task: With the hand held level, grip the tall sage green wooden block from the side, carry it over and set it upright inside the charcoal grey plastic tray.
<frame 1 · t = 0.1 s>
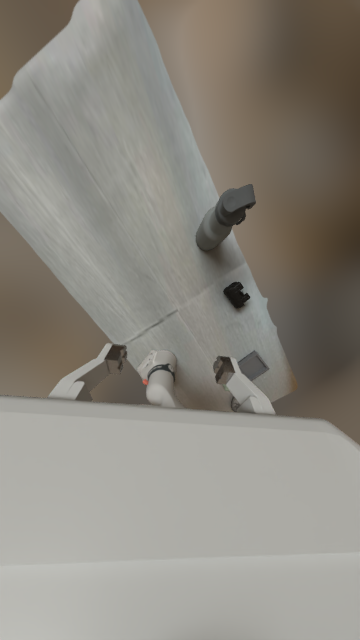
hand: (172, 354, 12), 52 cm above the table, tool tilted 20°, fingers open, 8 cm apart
water bottle: (207, 237, 55), on the table
grey tray: (250, 365, 75), on the table
brain slice: (242, 396, 83), on the table
end cap: (232, 294, 63), on the table
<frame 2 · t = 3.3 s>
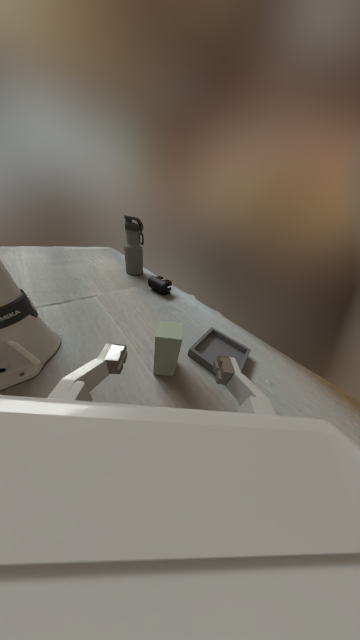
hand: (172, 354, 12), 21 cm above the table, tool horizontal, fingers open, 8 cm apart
water bottle: (135, 273, 82), on the table
grey tray: (218, 355, 39), on the table
sage block: (164, 366, 34), on the table
end cap: (159, 291, 67), on the table
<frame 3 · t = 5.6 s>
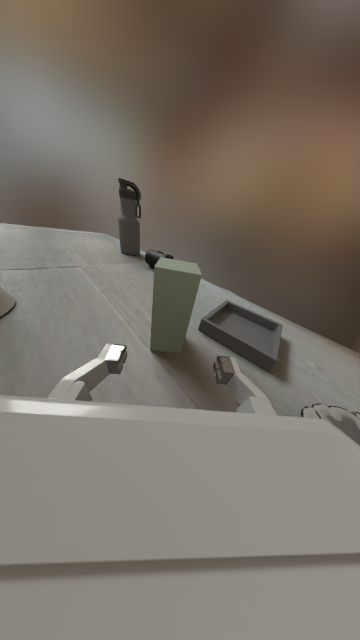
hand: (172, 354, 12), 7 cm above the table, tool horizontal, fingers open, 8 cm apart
water bottle: (131, 253, 72), on the table
grey tray: (239, 331, 29), on the table
sage block: (167, 341, 23), on the table
end cap: (158, 269, 57), on the table
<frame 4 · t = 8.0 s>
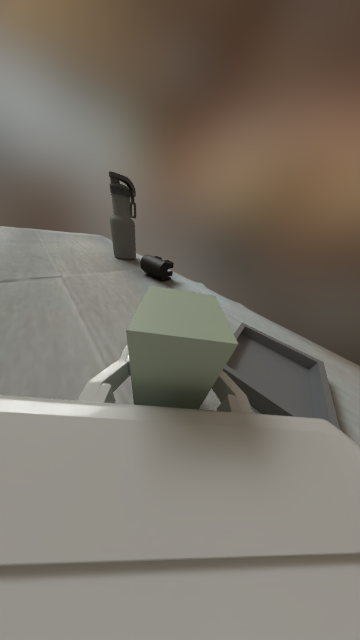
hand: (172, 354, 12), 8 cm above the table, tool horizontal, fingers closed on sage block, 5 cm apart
water bottle: (125, 257, 64), on the table
grey tray: (263, 372, 21), on the table
sage block: (163, 402, 15), on the table, touching gripper
end cap: (156, 277, 49), on the table
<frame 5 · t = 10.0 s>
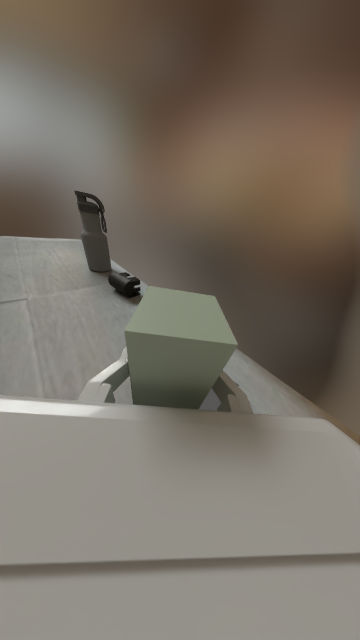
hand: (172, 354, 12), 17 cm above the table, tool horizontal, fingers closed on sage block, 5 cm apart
water bottle: (101, 269, 66), on the table
sage block: (163, 402, 15), point 9 cm above the table, touching gripper
end cap: (125, 292, 52), on the table
when the fingers open (10 cm above the table, at t = 12.2 s): sage block drops 2 cm, resting on grey tray.
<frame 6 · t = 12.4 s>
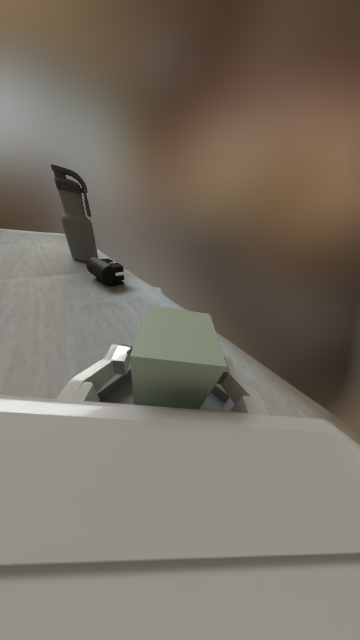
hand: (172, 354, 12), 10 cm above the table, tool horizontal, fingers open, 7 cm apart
water bottle: (86, 259, 60), on the table
grey tray: (162, 409, 17), on the table
sage block: (162, 408, 16), point 1 cm above the table, touching grey tray
end cap: (107, 282, 45), on the table
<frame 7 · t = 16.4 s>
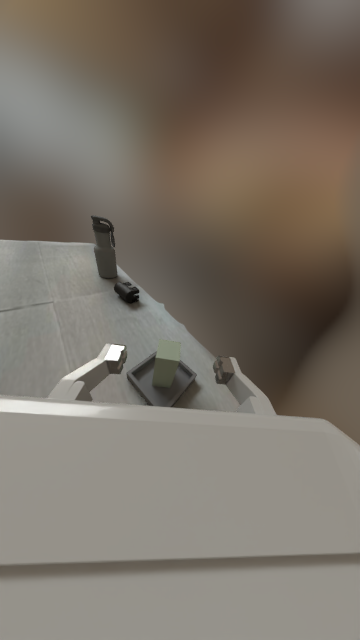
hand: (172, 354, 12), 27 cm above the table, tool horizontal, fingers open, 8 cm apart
water bottle: (109, 275, 78), on the table
grey tray: (162, 378, 37), on the table
sage block: (162, 377, 37), point 1 cm above the table, touching grey tray
end cap: (127, 298, 64), on the table
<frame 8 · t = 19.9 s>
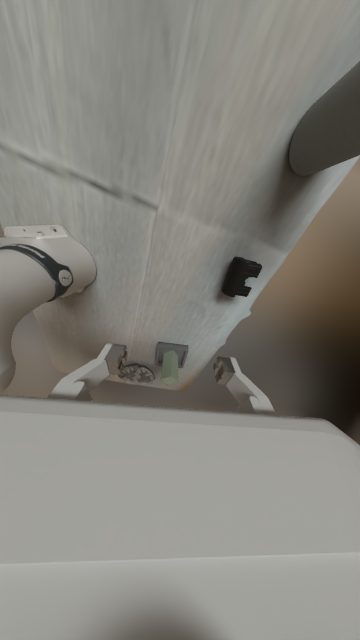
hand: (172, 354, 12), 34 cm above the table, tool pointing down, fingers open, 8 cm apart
water bottle: (314, 142, 26), on the table
grey tray: (171, 353, 63), on the table
sage block: (171, 354, 63), point 1 cm above the table, touching grey tray
brain slice: (138, 370, 73), on the table
end cap: (234, 273, 41), on the table
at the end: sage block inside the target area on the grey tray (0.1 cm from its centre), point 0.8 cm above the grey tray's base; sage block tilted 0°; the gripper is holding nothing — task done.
